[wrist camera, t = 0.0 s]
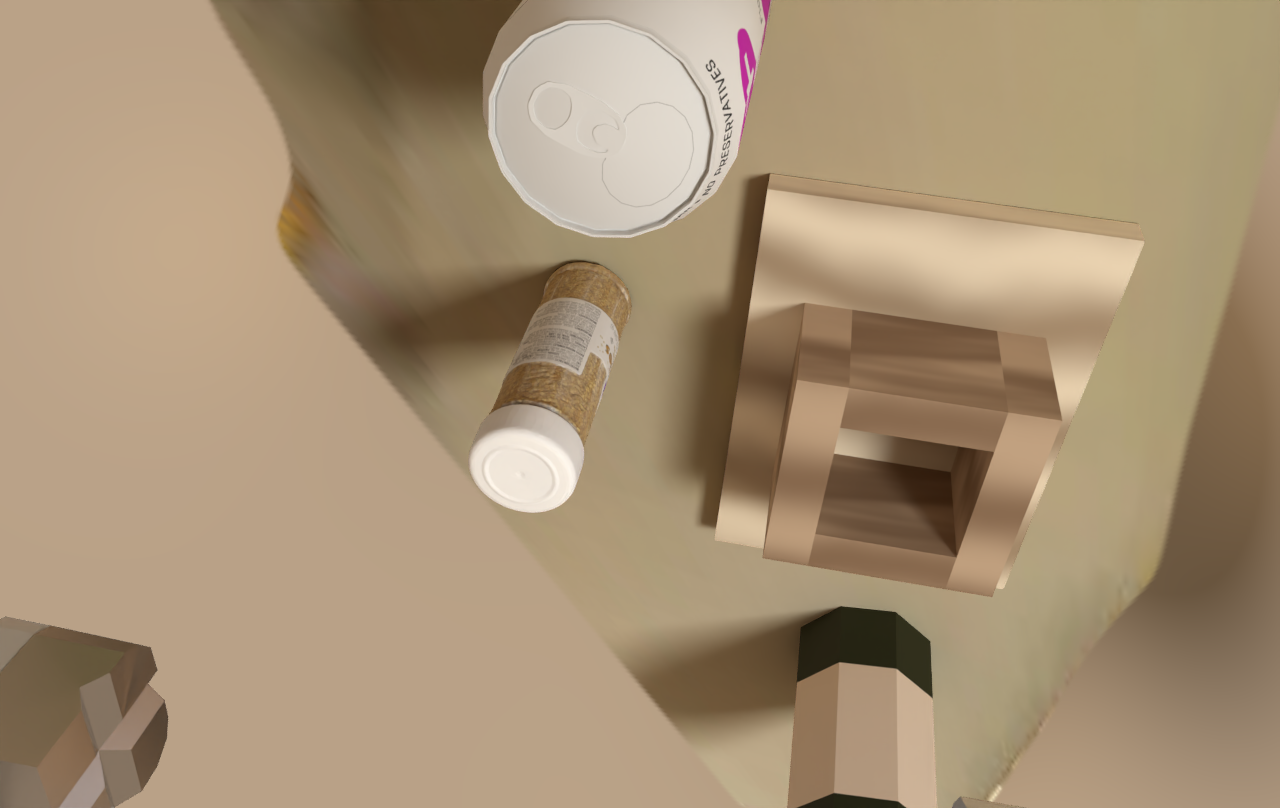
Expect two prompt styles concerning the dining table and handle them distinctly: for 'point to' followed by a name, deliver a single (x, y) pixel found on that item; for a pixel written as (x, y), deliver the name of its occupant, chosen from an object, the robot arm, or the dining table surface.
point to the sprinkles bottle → (552, 391)
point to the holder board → (914, 284)
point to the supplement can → (621, 106)
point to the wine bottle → (863, 714)
